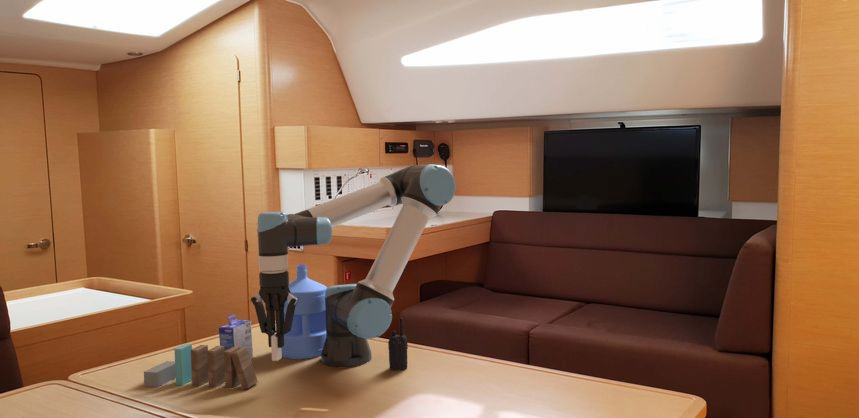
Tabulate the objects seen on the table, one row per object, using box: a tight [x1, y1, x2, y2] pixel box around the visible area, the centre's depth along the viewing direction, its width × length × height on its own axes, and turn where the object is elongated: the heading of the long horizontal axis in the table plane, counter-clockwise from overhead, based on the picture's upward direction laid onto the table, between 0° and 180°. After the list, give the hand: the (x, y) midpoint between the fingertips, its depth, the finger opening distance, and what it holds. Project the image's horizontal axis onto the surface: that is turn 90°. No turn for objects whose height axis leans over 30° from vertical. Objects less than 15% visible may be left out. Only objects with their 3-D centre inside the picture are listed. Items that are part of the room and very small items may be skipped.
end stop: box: [143, 360, 176, 388], centre depth 183 cm, size 4×10×4 cm, turn 166°
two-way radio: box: [388, 317, 408, 371], centre depth 188 cm, size 6×4×15 cm
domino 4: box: [231, 347, 259, 391], centre depth 177 cm, size 2×5×10 cm, turn 166°
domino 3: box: [224, 347, 241, 390], centre depth 178 cm, size 2×5×10 cm, turn 166°
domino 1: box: [191, 344, 209, 388], centre depth 180 cm, size 2×5×10 cm, turn 166°
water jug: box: [281, 264, 328, 360], centre depth 207 cm, size 16×16×28 cm
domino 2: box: [207, 345, 225, 389], centre depth 179 cm, size 2×5×10 cm, turn 166°
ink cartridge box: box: [218, 314, 254, 360], centre depth 198 cm, size 10×6×14 cm, turn 164°
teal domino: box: [174, 343, 193, 387], centre depth 181 cm, size 2×5×10 cm, turn 166°
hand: (276, 359), depth 174 cm, fingers closed
